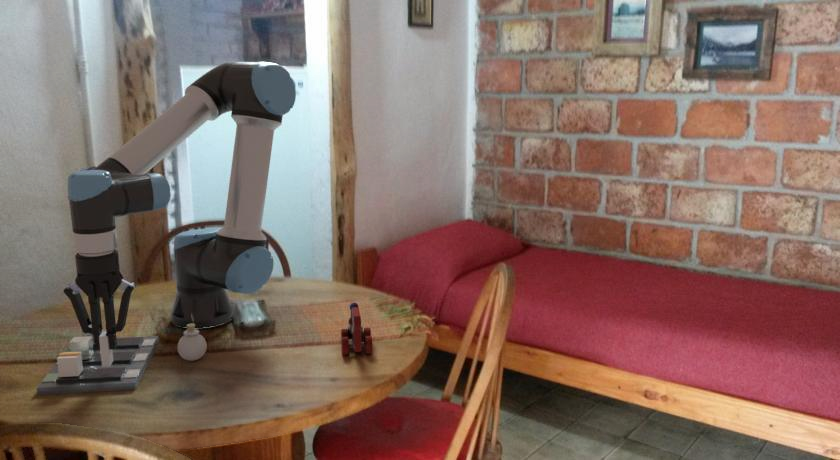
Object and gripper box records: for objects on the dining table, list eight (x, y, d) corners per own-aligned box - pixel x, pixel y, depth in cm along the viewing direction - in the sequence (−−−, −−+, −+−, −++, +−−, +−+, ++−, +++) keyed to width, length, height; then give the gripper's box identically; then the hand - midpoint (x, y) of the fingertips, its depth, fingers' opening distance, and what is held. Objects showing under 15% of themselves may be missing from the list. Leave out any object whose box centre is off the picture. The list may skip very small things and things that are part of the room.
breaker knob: (82, 370, 137) (80, 350, 136) (78, 376, 134) (76, 355, 133) (63, 370, 136) (61, 351, 135) (59, 377, 133) (56, 356, 132)
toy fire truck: (369, 338, 163) (369, 297, 160) (373, 359, 151) (373, 315, 148) (340, 339, 162) (340, 297, 159) (341, 360, 150) (341, 316, 147)
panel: (159, 342, 157) (157, 316, 155) (135, 389, 134) (133, 360, 133) (75, 345, 154) (73, 319, 152) (37, 394, 131) (33, 364, 129)
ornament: (176, 366, 145) (173, 322, 143) (181, 352, 152) (178, 310, 150) (205, 364, 146) (203, 321, 144) (209, 350, 153) (207, 308, 151)
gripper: (136, 245, 135) (145, 354, 141) (66, 246, 133) (78, 357, 139) (127, 255, 128) (137, 370, 134) (53, 257, 126) (66, 374, 131)
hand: (107, 363), depth 136 cm, fingers closed
